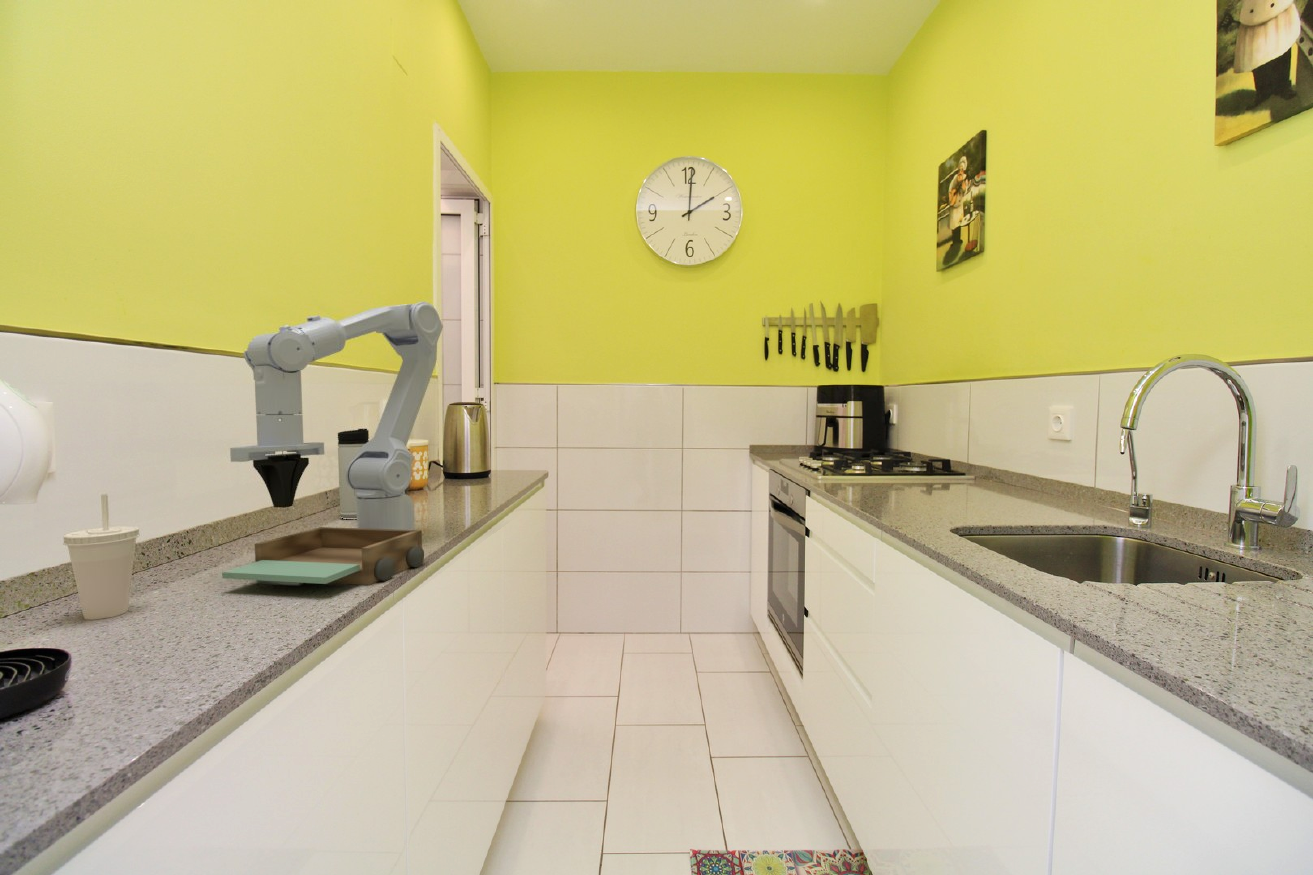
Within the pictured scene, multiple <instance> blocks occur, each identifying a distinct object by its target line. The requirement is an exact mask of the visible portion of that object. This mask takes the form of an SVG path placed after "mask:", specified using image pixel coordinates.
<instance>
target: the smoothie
mask: <svg viewBox="0 0 1313 875" xmlns="http://www.w3.org/2000/svg"><path fill="white" fill-rule="evenodd" d="M100 499H101V520H102V521H101V523H102V527H99V528H92V529H91V528H90V529H85V530H84V529H83V530H79V531H73V532H69V533H67V534H64V535H63V543H62V545H64V546H67V550H68V554H69V558H70V562H71V567H72V571H73V575H74V576H73V577H74V579H75V584H76V588H77V592H78V598H79V601H80V606H81V611H82V615H83V618H84V620H101V619H108V618H113V617H117V616H120V615H123V614H125V613H127V612H128V611H129V604H130V594H131V587H132V586H131V585H132V577H133V569H134V562H135V552H136V541H137V538H138V537H140V528H139V527H138V526H130V525H129V526H127V525H125V526H123V525H121V526H110V513H109V512H110V511H109V510H110V509H109V495H108V493H102V494H100Z"/></svg>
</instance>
